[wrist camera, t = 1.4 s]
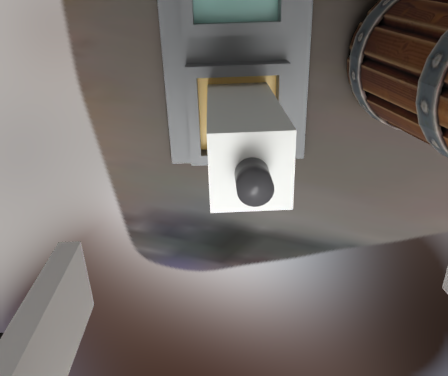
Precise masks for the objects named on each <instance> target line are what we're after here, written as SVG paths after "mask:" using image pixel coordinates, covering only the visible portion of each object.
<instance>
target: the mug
mask: <svg viewBox="0 0 448 376" xmlns="http://www.w3.org/2000/svg"><path fill="white" fill-rule="evenodd" d="M349 48H350V50H351V53H350V56H349V58H348V59H347V74H348V80H349V83H350V84H351V86H352V91H353V94H354V96H355V97H356V99H357V101H358V102H359V104H360V106H361V107H362V108H363V109H364V110H365V111H366V112H367V113H368V114H369V115H371V116H372V117H373V118H375V119H377V120H379V121H381V122H382V123H385V124H387V125H389V126H391V127H393V128H395V129H397V130H403V131H405V132H407V133H408V134H410V135H412V136H414V137H416V138H418V139H420V140H422V141H424V142H426V143H428V144H430V145H432V146H433V147H434V148H435V149H436V150H437V151H438V152H439V153H440V154H442V155H444V156H446V157H448V0H380V1H378V2H377V3H376V4H375V5H374V6H373V7H372V8H371V9H370V10H369V11H368V13H367V17H366V18H365V20H364V21H363V22H360V24H359V26H358V28H357V29H356V31H355V33H354V35H353V38H352V41H351V44H350V47H349Z"/></svg>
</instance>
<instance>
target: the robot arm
mask: <svg viewBox="0 0 448 376" xmlns="http://www.w3.org/2000/svg"><path fill="white" fill-rule="evenodd" d="M442 288H443V289H444V290H445V291H446V293H447V294H448V267H447V271H446V275H445V279H444V283H443V287H442ZM93 306H94V302H93V297H92V292H91V287H90V282H89V278H88V273H87V268H86V263H85V258H84V254H83V249H82V245H81V242H59V243H58V244H57V246H56V248H55V249H54V251H53V252H52V254H51V256H50V258H49V260H48V261H47V263H46V264H45V266H44V267H43V269H42V271H41V273H40V274H39V276H38V277H37V279H36V281H35V282H34V284H33V286H32V287H31V289H30V291H29V292H28V294H27V296H26V298H25V299H24V301H23V302H22V304H21V305H20V307H19V309H18V311H17V312H16V314H15V315H14V317H13V319H12V321H11V322H10V324H9V325H8V327H7V329H6V331H5V332H4V333H0V376H68V374H69V371H70V368H71V366H72V363H73V360H74V358H75V355H76V352H77V349H78V347H79V344H80V341H81V339H82V336H83V333H84V330H85V328H86V325H87V322H88V320H89V317H90V314H91V311H92V309H93Z"/></svg>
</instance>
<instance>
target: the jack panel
mask: <svg viewBox="0 0 448 376" xmlns="http://www.w3.org/2000/svg"><path fill="white" fill-rule="evenodd" d="M157 3H158V14H159V25H160V36H161V47H162V58H163V69H164V80H165V91H166V102H167V113H168V124H169V135H170V146H171V157H172V164H177V163H191V166H199V165H208V153H207V85H208V84H233V83H260V82H267V84H268V85H269V87H270V89H271V90H272V92H273V93H274V95H275V97H276V98H277V100H278V101H279V103H280V105H281V106H282V108H283V109H284V111H285V113H286V114H287V116H288V117H289V119H290V120H291V122H292V124H293V125H294V127H295V128H296V130H297V134H296V154H295V159H303V158H304V147H305V130H306V112H307V95H308V78H309V61H310V44H311V27H312V10H313V0H157Z"/></svg>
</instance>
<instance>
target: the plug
mask: <svg viewBox="0 0 448 376" xmlns="http://www.w3.org/2000/svg"><path fill="white" fill-rule="evenodd" d="M296 134H297V130H296V128H295V127H294V125H293V124H292V122H291V120H290V119H289V117H288V116H287V114H286V113H285V111H284V109H283V108H282V106H281V105H280V103H279V101H278V100H277V98H276V97H275V95H274V93H273V92H272V90H271V89H270V87H269V85H268V84H267V82H260V83H233V84H208V85H207V153H208V173H209V193H210V213H222V212H246V211H270V210H293V195H294V175H295V154H296Z"/></svg>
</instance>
